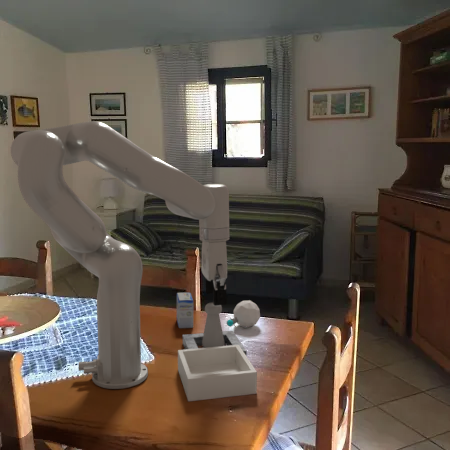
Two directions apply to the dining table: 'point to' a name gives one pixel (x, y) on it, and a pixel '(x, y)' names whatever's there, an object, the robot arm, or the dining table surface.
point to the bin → (216, 372)
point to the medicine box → (185, 310)
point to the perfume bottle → (245, 314)
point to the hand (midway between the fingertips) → (215, 298)
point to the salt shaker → (213, 327)
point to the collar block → (196, 339)
